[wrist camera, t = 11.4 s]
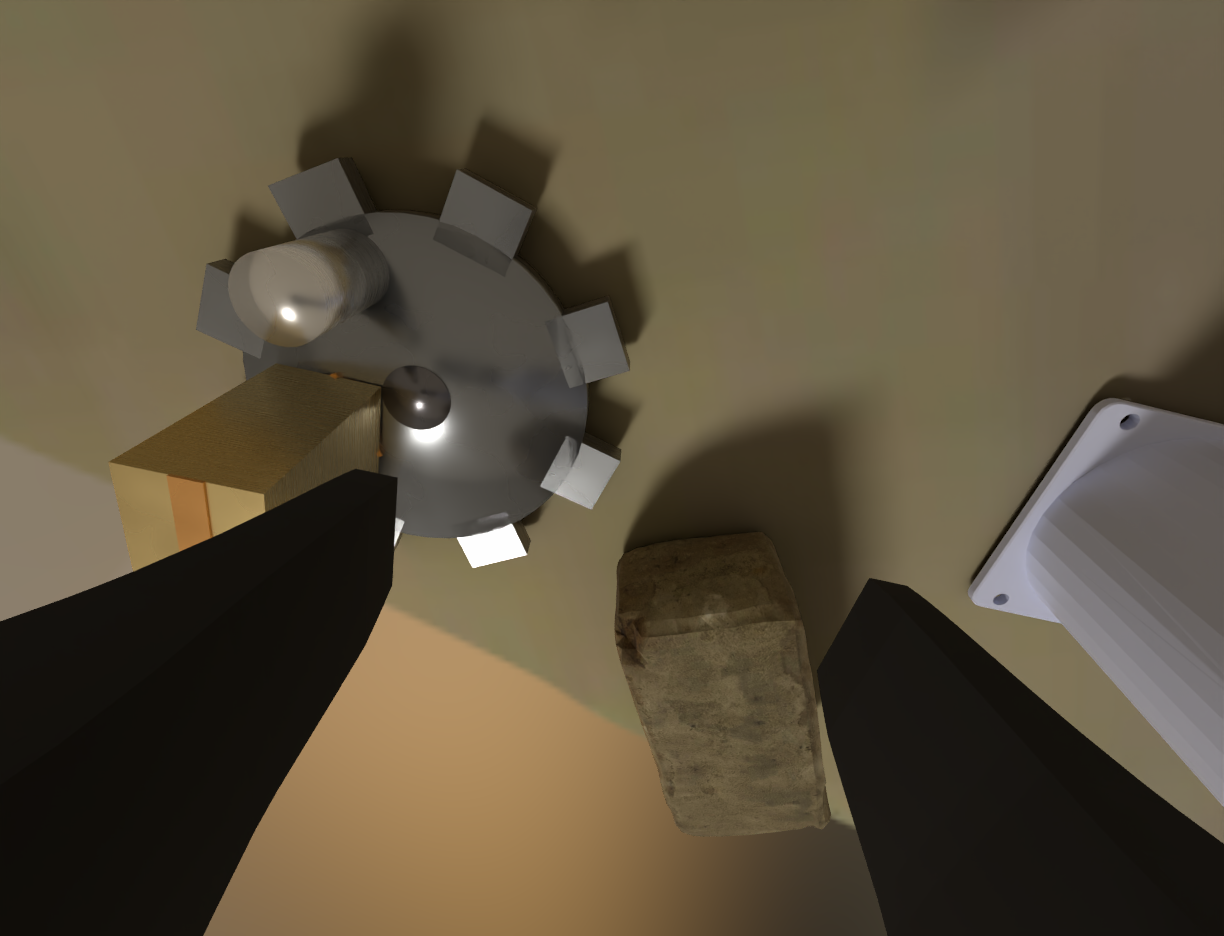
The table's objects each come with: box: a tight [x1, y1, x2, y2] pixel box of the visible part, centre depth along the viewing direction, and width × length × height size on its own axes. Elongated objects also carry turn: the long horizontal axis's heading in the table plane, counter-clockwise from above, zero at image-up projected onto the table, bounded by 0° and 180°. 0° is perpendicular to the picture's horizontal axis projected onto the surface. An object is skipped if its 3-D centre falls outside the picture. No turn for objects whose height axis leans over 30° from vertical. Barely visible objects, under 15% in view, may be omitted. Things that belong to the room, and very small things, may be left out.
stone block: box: [615, 532, 831, 836], centre depth 21 cm, size 6×12×5 cm, turn 16°
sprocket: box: [196, 158, 630, 567], centre depth 16 cm, size 12×12×4 cm
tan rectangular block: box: [109, 363, 381, 572], centre depth 15 cm, size 3×4×6 cm, turn 167°
